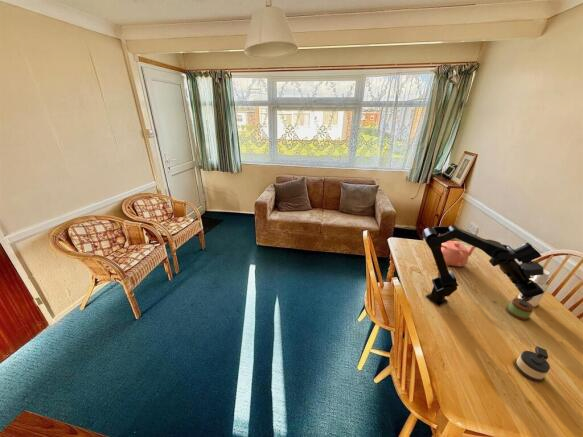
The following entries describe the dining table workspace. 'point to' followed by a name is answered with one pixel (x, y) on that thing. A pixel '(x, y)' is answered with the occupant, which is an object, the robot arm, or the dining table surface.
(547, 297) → the dining table surface
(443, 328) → the dining table surface
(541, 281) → the spray bottle
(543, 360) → the plain pump
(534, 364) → the black and cream cylinder
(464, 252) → the teapot
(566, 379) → the dining table surface
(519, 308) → the green cylinder
